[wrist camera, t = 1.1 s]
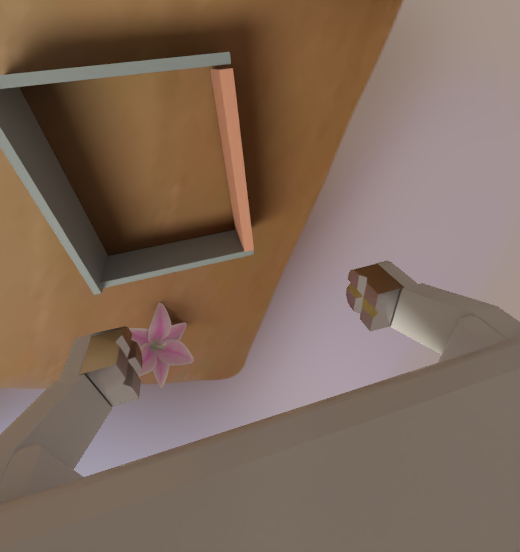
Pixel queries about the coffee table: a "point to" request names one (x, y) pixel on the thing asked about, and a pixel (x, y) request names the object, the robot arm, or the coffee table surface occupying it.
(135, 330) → the lily
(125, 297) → the coffee table surface
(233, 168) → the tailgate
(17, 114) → the frame
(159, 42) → the coffee table surface
